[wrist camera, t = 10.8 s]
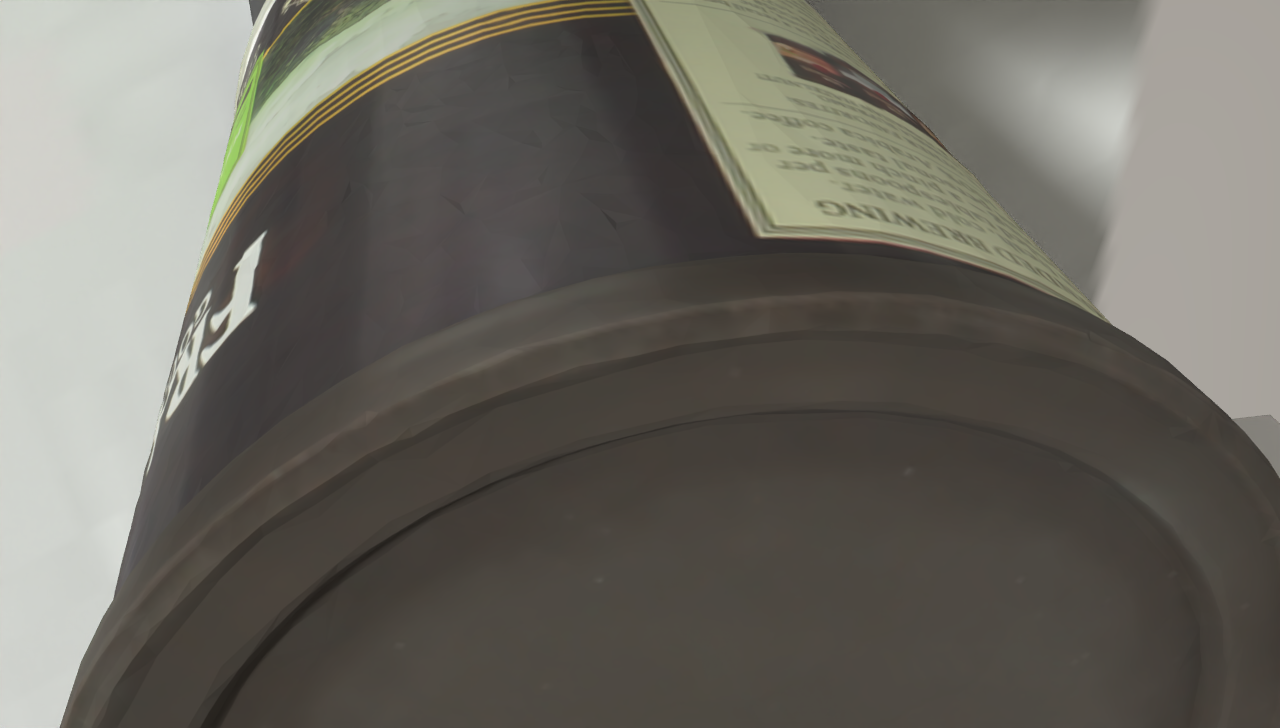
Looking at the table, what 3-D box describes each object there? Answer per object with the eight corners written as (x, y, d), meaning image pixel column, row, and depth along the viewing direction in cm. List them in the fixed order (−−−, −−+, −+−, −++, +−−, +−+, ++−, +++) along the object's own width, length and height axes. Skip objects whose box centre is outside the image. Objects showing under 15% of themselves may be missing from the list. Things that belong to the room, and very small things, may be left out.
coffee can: (247, 391, 23) (114, 1231, 12) (217, -198, 18) (-97, 277, 6) (766, 395, 25) (1089, 1102, 14) (882, -127, 20) (1582, 319, 8)
